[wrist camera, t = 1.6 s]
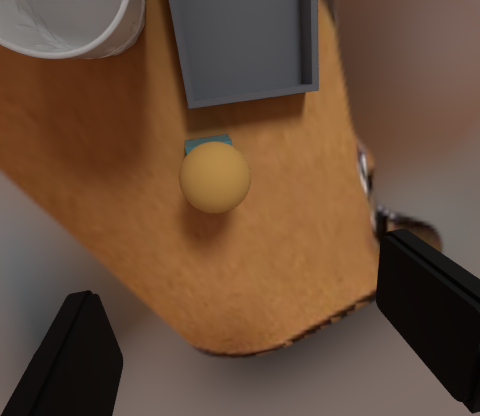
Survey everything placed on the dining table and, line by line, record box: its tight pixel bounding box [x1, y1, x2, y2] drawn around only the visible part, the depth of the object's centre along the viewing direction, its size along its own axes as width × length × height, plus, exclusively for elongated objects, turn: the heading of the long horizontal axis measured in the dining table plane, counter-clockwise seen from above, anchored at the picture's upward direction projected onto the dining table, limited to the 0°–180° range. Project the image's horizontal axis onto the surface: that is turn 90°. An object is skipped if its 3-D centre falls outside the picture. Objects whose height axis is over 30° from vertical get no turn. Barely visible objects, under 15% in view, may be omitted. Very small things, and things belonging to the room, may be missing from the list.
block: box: [185, 134, 232, 155], centre depth 25 cm, size 4×4×4 cm
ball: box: [179, 142, 251, 213], centre depth 21 cm, size 5×5×5 cm
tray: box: [169, 0, 319, 109], centre depth 21 cm, size 13×10×3 cm
